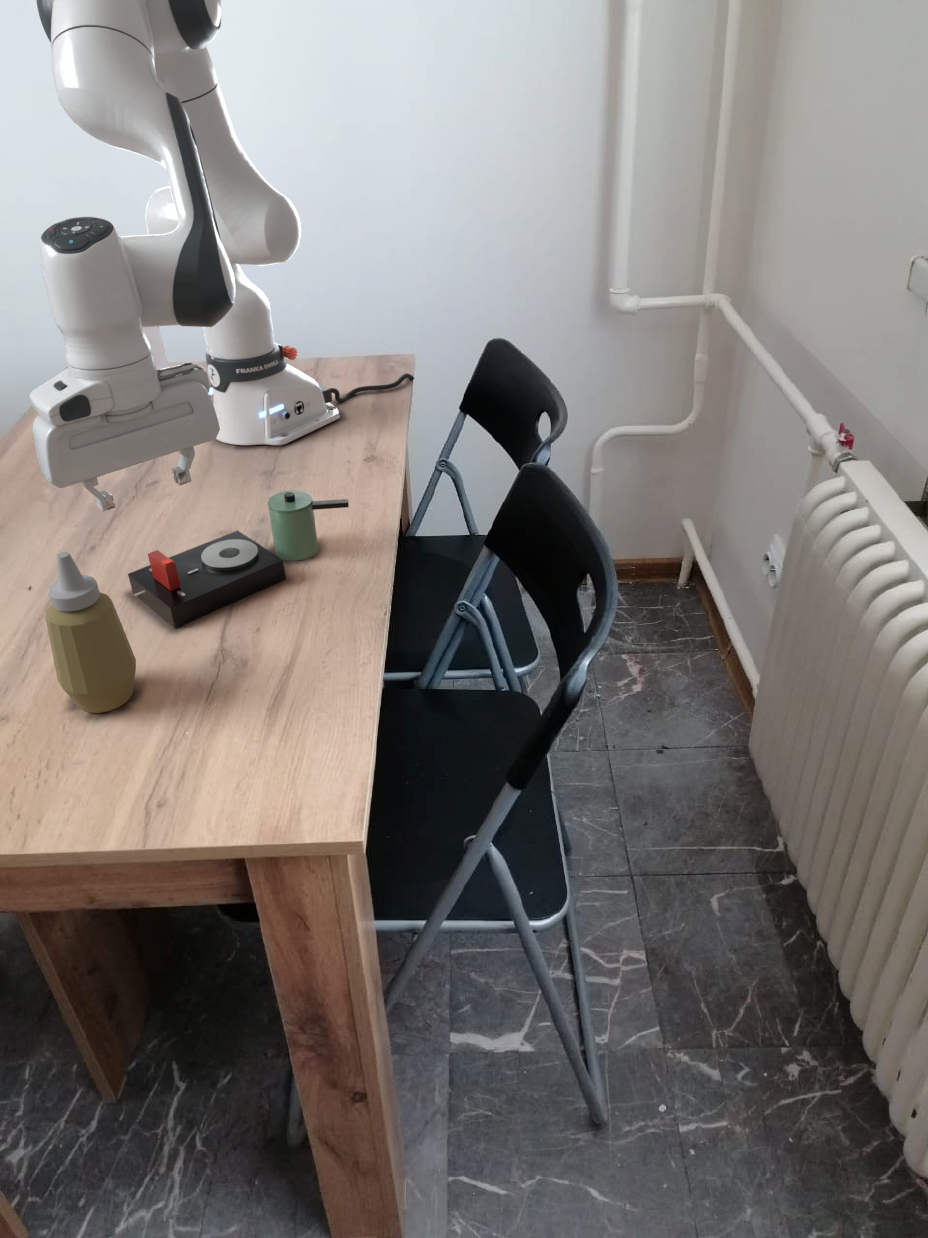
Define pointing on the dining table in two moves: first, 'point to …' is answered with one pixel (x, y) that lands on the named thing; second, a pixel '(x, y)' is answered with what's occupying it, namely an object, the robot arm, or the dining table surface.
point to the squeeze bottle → (88, 641)
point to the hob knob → (164, 570)
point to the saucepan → (296, 523)
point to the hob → (205, 583)
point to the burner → (229, 555)
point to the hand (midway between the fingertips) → (145, 494)
